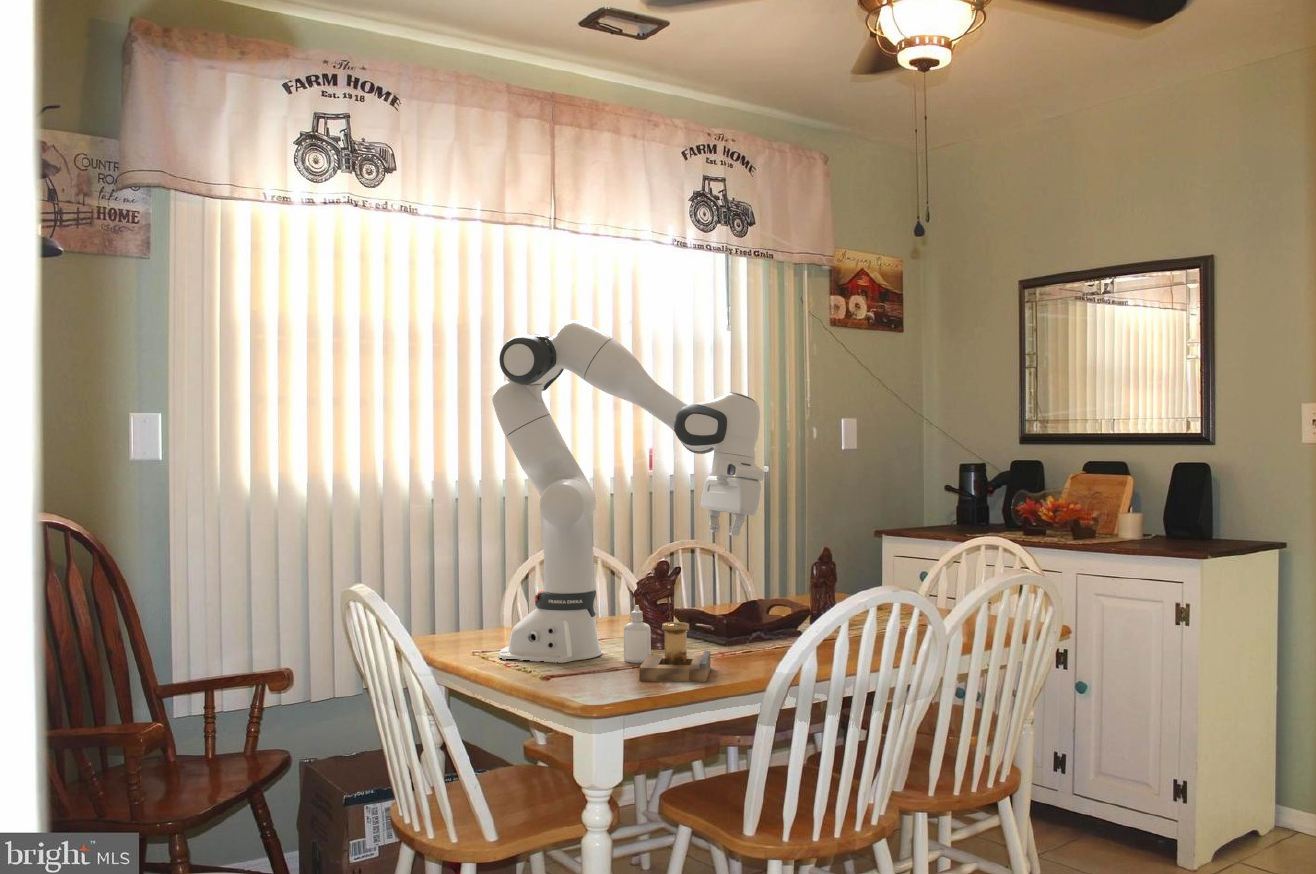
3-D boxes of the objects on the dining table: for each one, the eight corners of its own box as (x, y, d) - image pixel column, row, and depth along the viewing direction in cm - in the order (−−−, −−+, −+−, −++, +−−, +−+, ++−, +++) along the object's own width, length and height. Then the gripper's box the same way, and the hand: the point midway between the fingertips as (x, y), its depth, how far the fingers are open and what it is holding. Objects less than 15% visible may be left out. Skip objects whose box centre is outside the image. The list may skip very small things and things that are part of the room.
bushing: (660, 676, 205) (660, 626, 205) (663, 671, 210) (663, 621, 211) (687, 677, 204) (687, 626, 205) (690, 671, 210) (690, 622, 210)
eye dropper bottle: (639, 665, 217) (639, 607, 217) (620, 661, 221) (620, 605, 221) (654, 661, 220) (653, 605, 220) (635, 658, 224) (634, 603, 224)
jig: (639, 680, 202) (639, 662, 202) (648, 667, 215) (647, 650, 215) (705, 681, 200) (705, 663, 200) (710, 668, 213) (710, 651, 213)
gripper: (698, 466, 229) (689, 528, 228) (741, 468, 210) (732, 535, 209) (723, 470, 231) (715, 532, 230) (768, 472, 212) (759, 539, 211)
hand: (723, 534), depth 219 cm, fingers open, 8 cm apart
